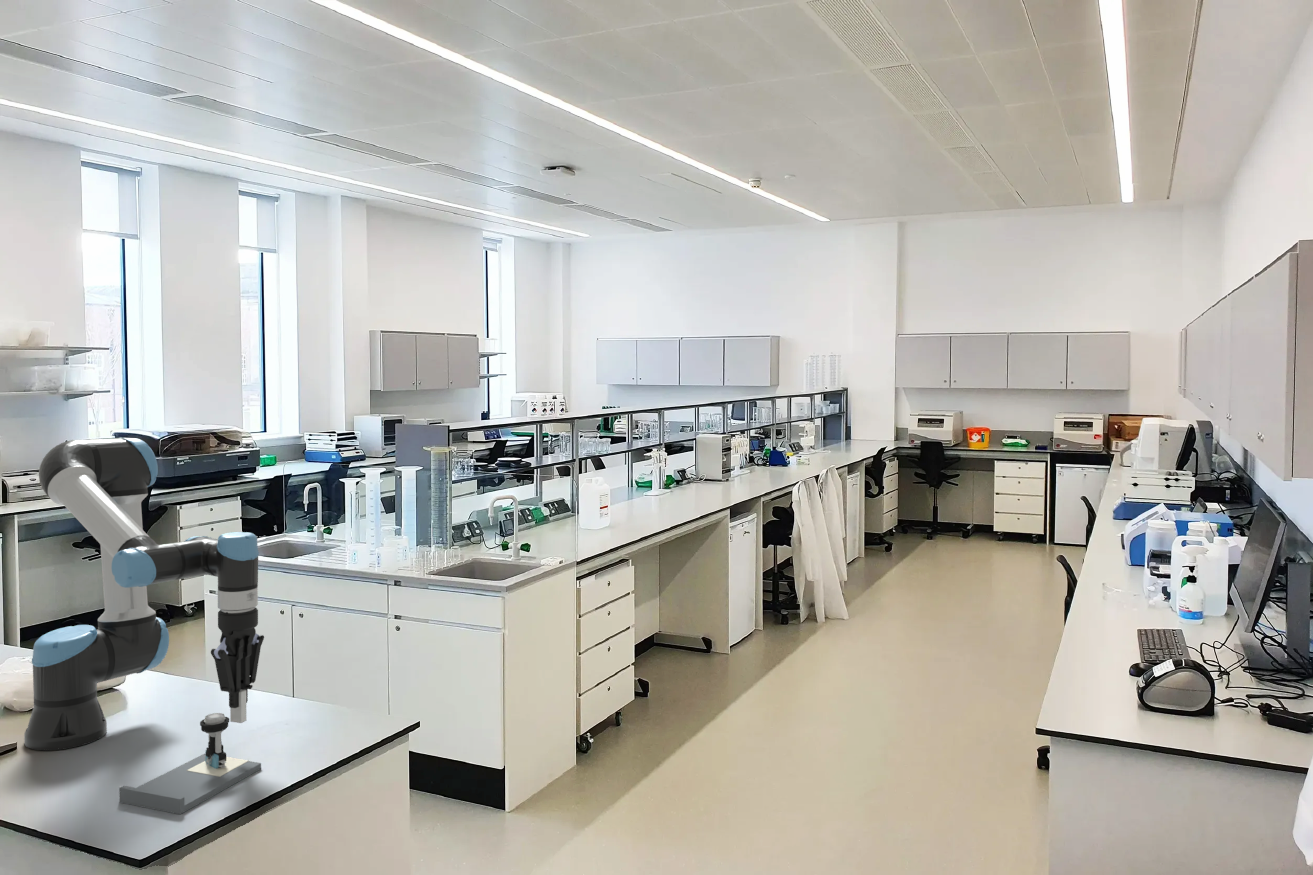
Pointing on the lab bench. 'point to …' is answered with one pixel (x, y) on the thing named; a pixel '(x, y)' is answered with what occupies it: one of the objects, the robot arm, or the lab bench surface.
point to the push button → (215, 739)
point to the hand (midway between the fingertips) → (238, 720)
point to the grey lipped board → (187, 785)
